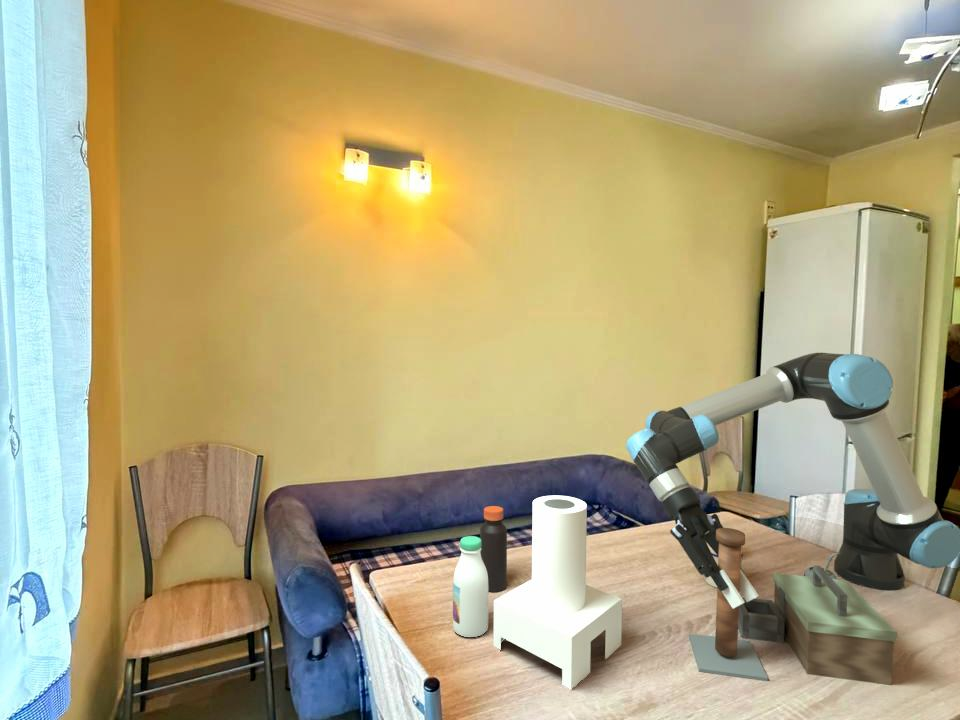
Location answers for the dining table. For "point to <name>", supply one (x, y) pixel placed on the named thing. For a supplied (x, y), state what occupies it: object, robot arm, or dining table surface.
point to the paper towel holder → (559, 595)
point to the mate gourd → (810, 570)
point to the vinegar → (494, 548)
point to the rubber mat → (726, 659)
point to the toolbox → (823, 627)
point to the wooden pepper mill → (725, 613)
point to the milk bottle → (470, 590)
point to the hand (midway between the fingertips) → (745, 602)
